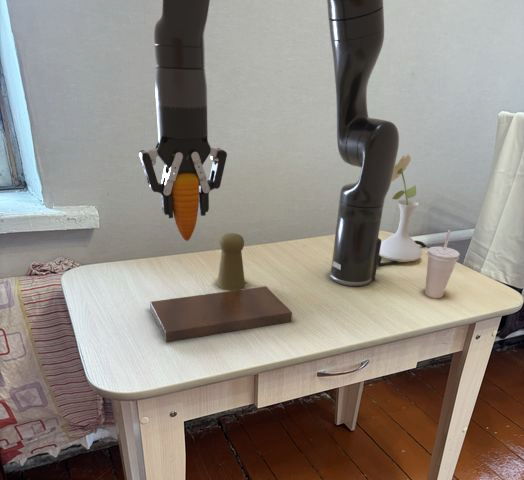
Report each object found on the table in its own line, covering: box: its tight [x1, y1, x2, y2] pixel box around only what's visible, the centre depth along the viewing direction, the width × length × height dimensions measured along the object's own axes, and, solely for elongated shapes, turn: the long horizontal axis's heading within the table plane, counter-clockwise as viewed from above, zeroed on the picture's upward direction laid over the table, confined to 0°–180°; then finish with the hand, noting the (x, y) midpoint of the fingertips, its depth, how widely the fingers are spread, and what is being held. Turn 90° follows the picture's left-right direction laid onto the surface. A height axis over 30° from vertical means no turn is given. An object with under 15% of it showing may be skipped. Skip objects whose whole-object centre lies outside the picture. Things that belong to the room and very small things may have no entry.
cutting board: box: [149, 285, 293, 343], centre depth 95 cm, size 24×12×2 cm, turn 113°
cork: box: [216, 232, 246, 291], centre depth 106 cm, size 6×6×11 cm
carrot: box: [171, 155, 199, 242], centre depth 82 cm, size 5×5×15 cm
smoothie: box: [424, 229, 461, 299], centre depth 105 cm, size 6×6×14 cm
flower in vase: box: [379, 153, 423, 263], centre depth 121 cm, size 13×11×25 cm
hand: (186, 215), depth 84 cm, fingers closed on carrot, 5 cm apart
